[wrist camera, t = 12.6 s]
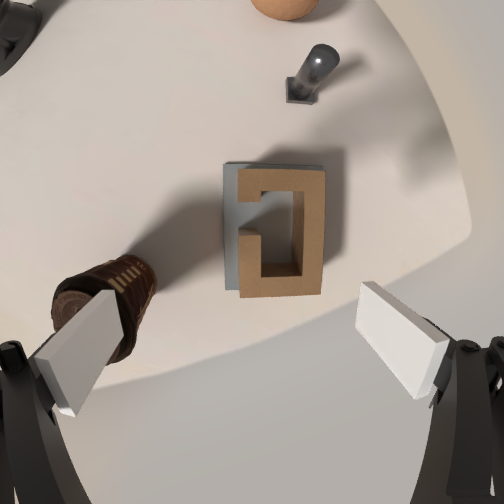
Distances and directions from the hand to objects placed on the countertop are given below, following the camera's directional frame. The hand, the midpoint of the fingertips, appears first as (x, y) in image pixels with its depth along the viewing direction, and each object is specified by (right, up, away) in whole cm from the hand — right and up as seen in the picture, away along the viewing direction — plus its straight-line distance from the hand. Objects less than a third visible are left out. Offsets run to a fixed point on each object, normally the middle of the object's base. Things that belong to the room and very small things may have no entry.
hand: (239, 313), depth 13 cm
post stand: (+6, +21, +14) cm, 26 cm away
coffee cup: (-14, 0, +17) cm, 22 cm away
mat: (+3, +6, +17) cm, 18 cm away
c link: (+3, +6, +16) cm, 18 cm away
